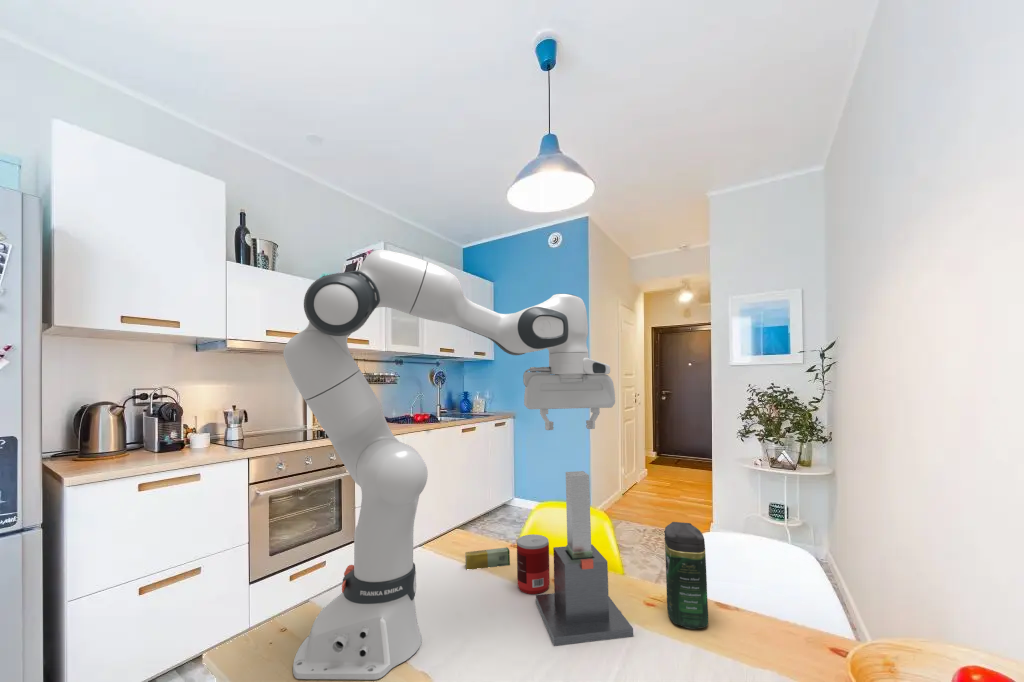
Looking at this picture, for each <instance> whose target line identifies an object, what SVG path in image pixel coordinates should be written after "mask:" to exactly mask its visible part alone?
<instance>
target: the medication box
mask: <svg viewBox="0 0 1024 682" xmlns="http://www.w3.org/2000/svg"><path fill="white" fill-rule="evenodd" d="M510 553H511V551H510V548H508V547H500V548H499V547H498V548H490V549H483V550H474V551H473V550H472V551H466V552H465V554H464V555H465V557H464V559H465V566H464V567H465V569H466V570H467V569H472V570H478V569H477V568H481V569H488V567H490V568H497V566H499V567H506V566H511V559H510V555H511V554H510Z"/></svg>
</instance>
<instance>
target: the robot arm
mask: <svg viewBox="0 0 1024 682" xmlns="http://www.w3.org/2000/svg"><path fill="white" fill-rule="evenodd" d="M586 307H587V306H586V304H585V302H584V299H582V298H581V297H580V296H577V295H575V294H570V293H554V294H553V295H552V296H551V297H550V298H548V299H547V300H545V301H542V302H541V303H537V304H536V305H533V306H530V307H526V308H524V309H522V310H519V311H517V312H513V313H499V312H497V311H494V310H492V309H489V308H488V307H486V306H483V305H480V304H478V303H475V302H473V301H471V300H470V299H469V298H468V297H467V296H465V294H464V292H463V287H462V285H461V282H460V280H459V279H458V277H457V276H456V275H455V274H453V273H452V272H450V271H449V270H447V269H445V268H443V267H442V266H440V265H437V264H435V263H432V262H430V261H427V260H424V259H421V258H419V257H416V256H412V255H409V254H405V253H402V252H397V251H393V250H388V249H376V250H373V251H372V252H370V253H369V254H368V255H367V256H365V259H364V260H363V261H362V263H361V265H360V268H359V270H351V271H346V272H345V271H344V272H337V273H336V272H335V273H330V274H327V275H324V276H321V277H319V278H318V279H316V280H314V281H313V282H312V283H311V284H310V285H309V287H308V288H307V291H306V292H305V294H304V298H303V309H304V314H305V317H306V318H307V320H308V325H307V326H306V328H305V329H303V330H302V331H300V332H298V333H297V334H295V335H293V336H291V337H292V338H290V340H288V341H287V342H286V344H285V346H284V348H283V358H284V361H285V364H286V367H287V369H288V372H289V375H290V377H291V379H292V380H293V382H294V385H295V387H296V388H297V390H298V392H299V393H300V395H301V397H302V398H303V400H304V401H305V403H306V405H307V407H308V408H309V409H310V411H311V412H312V414H313V415H314V417H315V418H316V420H317V421H318V424H320V426H321V428H322V429H323V430H324V433H325V434H326V435H327V438H328V439H329V441H330V443H331V445H332V446H333V448H334V449H335V452H336V454H337V455H338V458H340V460H341V462H342V464H343V465H344V467H345V468H346V470H347V472H348V473H349V475H350V477H351V478H352V480H353V482H354V483H355V484H356V485H358V486H359V487H360V490H361V503H360V509H359V514H358V515H359V516H358V520H357V521H358V522H357V525H356V526H355V528H354V543H353V544H354V545H353V546H354V547H353V548H354V552H353V564H349V565H347V567H346V568H345V571H344V572H343V577H342V584H341V593H340V594H339V595H338V596H337V597H335V598H334V599H333V600H331V601H330V602H328V604H326V606H324V607H323V608H322V609H321V610H320V612H319V613H318V614H317V616H316V618H315V620H314V621H313V624H312V626H311V630H310V632H309V635H308V636H307V637H306V638H305V639H304V640H303V641H302V643H300V646H299V648H298V649H297V652H296V654H295V656H294V660H293V663H292V673H293V676H294V678H295V679H297V680H361V681H362V680H367V681H368V680H370V681H371V680H375V681H376V680H378V679H381V678H383V677H384V676H385V675H387V674H388V673H389V672H390V671H391V670H392V669H394V667H397V666H398V665H399V664H402V663H404V662H405V661H407V660H409V659H410V658H411V657H412V656H413V655H414V654H416V652H417V651H418V650H419V649H420V647H421V644H422V640H423V639H422V638H423V637H422V634H421V631H420V627H419V622H418V617H417V611H416V610H417V609H416V602H415V600H416V599H415V597H416V593H417V570H416V564H415V562H414V531H415V530H414V529H415V528H414V526H415V519H416V513H417V508H418V504H419V499H420V496H421V494H422V493H423V491H424V489H425V487H426V485H427V482H428V468H427V464H426V462H425V459H423V457H422V456H421V455H420V453H419V452H418V450H416V449H415V448H414V447H413V446H411V445H409V444H407V443H404V442H402V441H400V440H398V439H397V438H396V437H395V435H394V434H393V432H392V430H391V428H390V427H389V423H388V422H387V420H386V417H385V414H384V412H383V409H382V404H381V402H380V400H379V398H378V397H377V395H376V394H375V392H374V390H373V388H372V386H371V385H370V384H369V382H368V380H367V379H366V377H365V375H364V373H363V372H362V370H361V369H360V367H359V366H358V364H357V362H356V361H355V359H354V357H353V355H352V354H351V352H350V349H349V345H348V337H349V336H350V335H351V334H353V333H355V332H356V331H359V330H360V329H361V328H362V327H363V326H364V325H365V323H366V322H367V321H368V320H369V318H370V316H371V315H372V313H373V312H374V311H375V310H376V309H377V308H378V309H379V308H389V309H392V310H396V311H399V312H402V313H404V314H408V315H409V316H413V317H417V318H420V319H424V320H429V321H433V322H437V323H444V324H448V325H452V326H456V327H459V328H461V329H464V330H466V331H469V332H472V333H474V334H477V335H480V336H482V337H485V338H487V339H489V340H490V341H491V342H493V343H494V344H495V345H496V346H497V347H498V348H499V349H500V350H502V351H503V352H505V353H506V354H508V355H511V356H521V355H525V354H527V353H532V352H533V353H534V352H535V353H536V352H539V351H540V352H541V351H543V350H545V349H546V350H548V366H539V367H537V366H531V367H529V368H528V369H526V370H525V371H524V372H523V375H522V378H523V379H522V380H523V381H522V383H523V385H524V386H525V387H524V388H525V389H524V399H523V405H524V407H526V409H528V410H539V414H540V416H541V418H542V420H543V421H544V424H545V426H544V429H545V430H546V431H554V428H555V427H554V421H552V420H551V421H550V420H549V418H548V416H547V415H549V410H558V409H559V410H562V409H564V410H565V409H569V410H570V409H571V410H572V409H590V413H592V414H591V416H590V418H589V419H588V420H585V423H586V425H585V428H586V429H588V430H595V428H596V421H597V419H598V417H599V415H600V414H601V413H600V409H609V408H613V407H614V405H615V404H616V392H615V391H616V390H615V385H614V381H613V379H612V377H611V376H610V375H609V374H610V373H611V366H610V364H607V363H604V362H601V361H598V360H595V359H592V358H589V357H590V355H589V349H588V343H587V339H588V336H589V325H588V321H589V320H588V313H587V308H586Z"/></svg>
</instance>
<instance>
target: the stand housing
mask: <svg viewBox="0 0 1024 682" xmlns="http://www.w3.org/2000/svg"><path fill="white" fill-rule="evenodd" d="M591 550H592V558H589V559H577V560H571V559H570V557H569V556H568V552H567V545H566V546H555V547H553V585H554V588H553V589H554V591H553V593H552V592H551V593H541V594H535V604H536V607H537V609H538V611H539V613H540V616H541V618H542V620H543V623H544V625H545V628H546V630H547V633H548V635H549V638H550V640H551V643H552V644H553V645H552V646H553V647H555V646H556V647H557V646H564V645H572V644H580V643H583V644H584V643H588V642H589V643H591V642H599V641H604V640H605V641H606V640H615V639H616V640H617V639H621V638H622V639H624V638H629V637H630V638H631V637H632V638H633V637H634V628H633V626H632V625H631V623H630V622H629V621H628V619H626V617H625V615H624V614H623V613H622V611H621V610H620V609H619V608H618V606H617V605H616V604H615V603H614V601H613V600H612V599H611V597H610V596H609V575H608V574H609V571H608V568H609V567H608V560H607V559H606V557H604V556H603V554H602V553H600V551H599V549H597V548H596V547H595V546H594V544H592V543H591Z"/></svg>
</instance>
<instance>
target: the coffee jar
mask: <svg viewBox="0 0 1024 682" xmlns="http://www.w3.org/2000/svg"><path fill="white" fill-rule="evenodd" d="M663 532H664V550H665V551H664V552H665V557H664V558H665V580H666V583H665V584H666V604H667V605H666V607H667V614H668V617H669V618H670V620H671V621H672V622H673V623H674V624H676V625H678V626H682V627H683V628H686V629H691V630H693V629H694V630H696V629H702V628H706V627H708V625H709V604H708V581H707V578H708V577H707V576H708V574H707V560H706V558H707V557H706V544H705V543H706V542H705V538H704V534H703V533H702V531H701V530H700V529H699V528H697V527H696V526H695V525H693V524H692V523H690V522H683V521H682V522H678V521H672V522H671V523H670V524H669V523H668V525H666V526H665V528H664V531H663Z"/></svg>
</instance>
